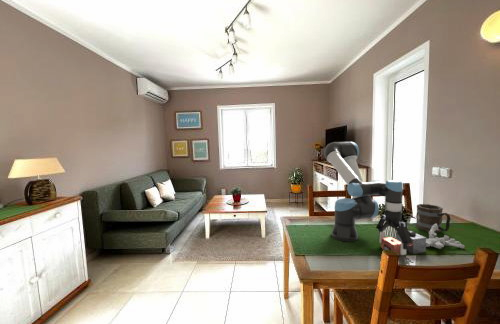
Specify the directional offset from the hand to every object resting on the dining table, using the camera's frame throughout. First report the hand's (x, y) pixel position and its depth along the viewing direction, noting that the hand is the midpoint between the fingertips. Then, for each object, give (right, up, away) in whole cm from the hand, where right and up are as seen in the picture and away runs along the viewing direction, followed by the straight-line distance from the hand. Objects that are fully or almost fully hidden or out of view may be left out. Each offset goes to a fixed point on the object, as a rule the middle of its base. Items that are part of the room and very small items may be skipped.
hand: (392, 248), depth 117 cm
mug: (+44, +1, +26) cm, 51 cm away
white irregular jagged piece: (+31, -1, +7) cm, 32 cm away
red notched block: (0, -2, 0) cm, 2 cm away
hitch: (+6, -1, +1) cm, 6 cm away
